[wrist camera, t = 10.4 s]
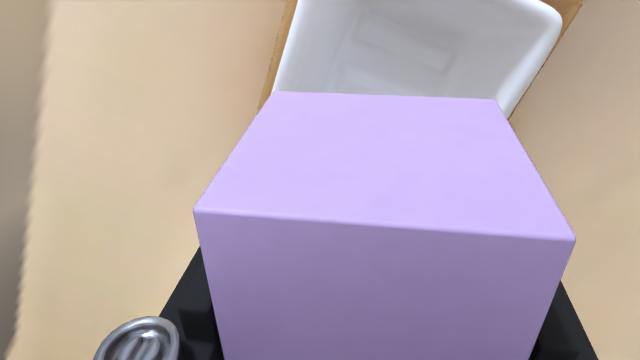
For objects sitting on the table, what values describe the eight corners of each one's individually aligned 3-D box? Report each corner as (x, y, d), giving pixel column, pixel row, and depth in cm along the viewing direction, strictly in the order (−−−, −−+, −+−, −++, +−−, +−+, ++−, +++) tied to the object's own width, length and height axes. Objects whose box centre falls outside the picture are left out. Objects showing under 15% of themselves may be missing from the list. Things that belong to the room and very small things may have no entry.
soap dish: (332, -108, 17) (311, -117, 12) (554, -17, 17) (607, 5, 13) (258, 148, 23) (228, 199, 19) (419, 207, 24) (425, 270, 20)
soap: (272, 89, 9) (189, 208, 5) (495, 97, 8) (579, 238, 5) (290, 323, 13) (250, 485, 9) (442, 339, 12) (465, 519, 9)
